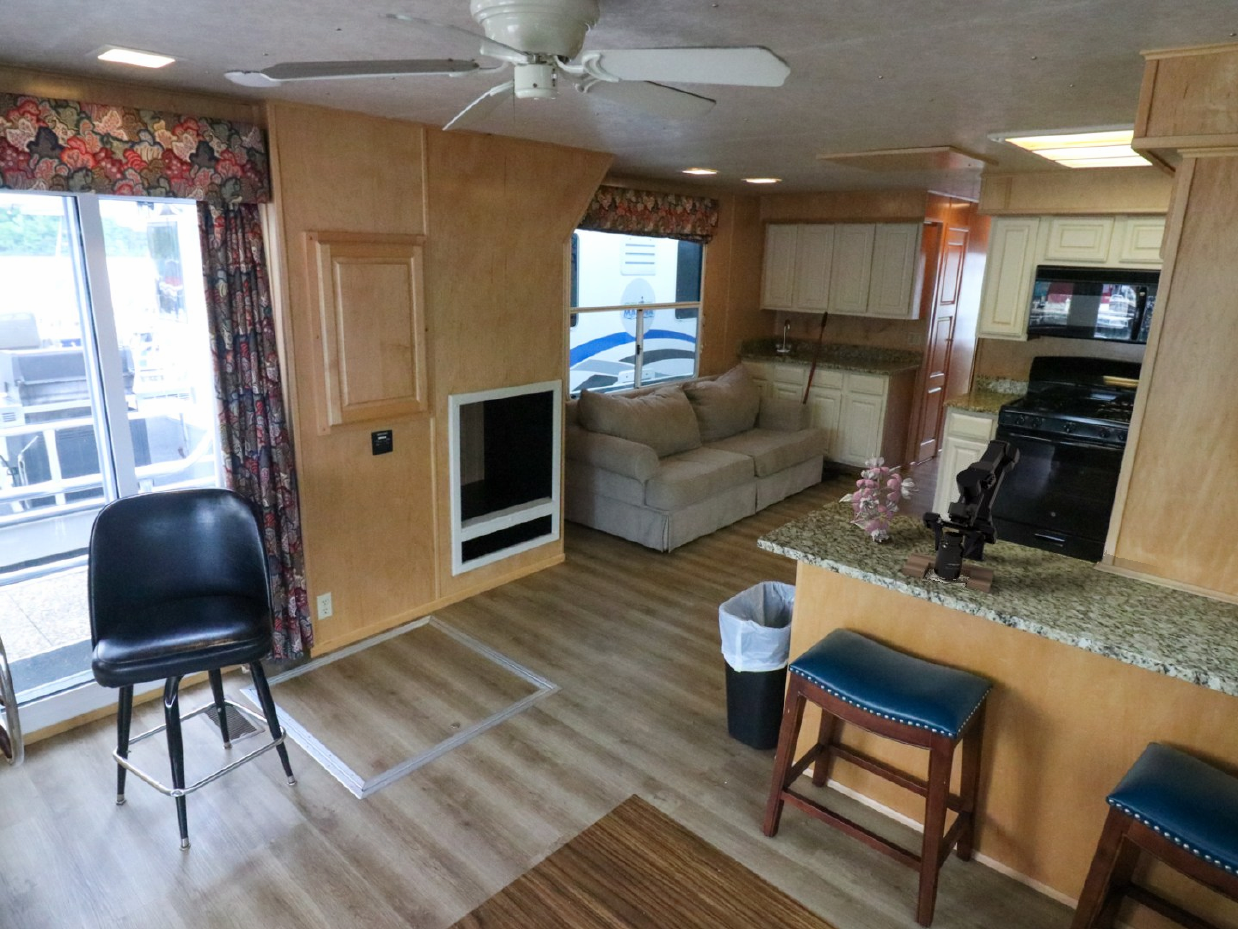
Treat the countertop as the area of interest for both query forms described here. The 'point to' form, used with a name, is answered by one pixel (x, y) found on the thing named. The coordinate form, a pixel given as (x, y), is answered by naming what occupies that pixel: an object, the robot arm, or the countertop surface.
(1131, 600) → the countertop surface
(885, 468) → the flower
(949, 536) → the supplement bottle
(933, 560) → the notched shelf board
